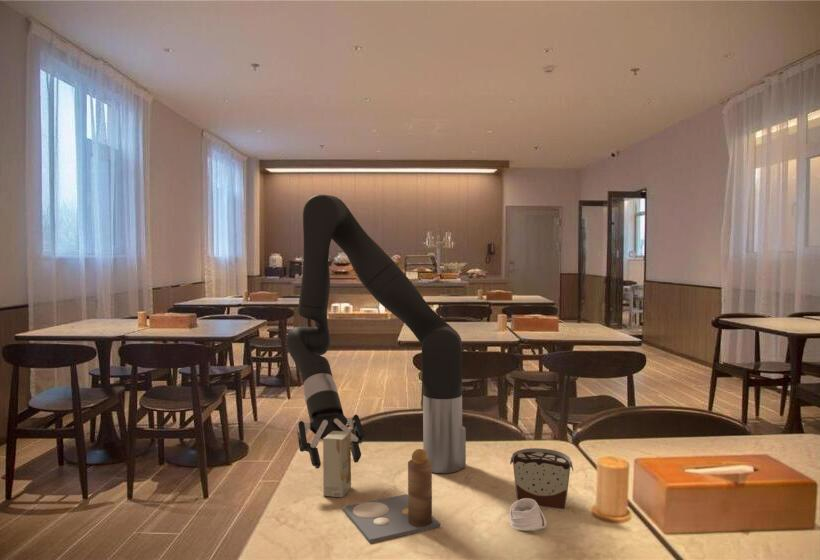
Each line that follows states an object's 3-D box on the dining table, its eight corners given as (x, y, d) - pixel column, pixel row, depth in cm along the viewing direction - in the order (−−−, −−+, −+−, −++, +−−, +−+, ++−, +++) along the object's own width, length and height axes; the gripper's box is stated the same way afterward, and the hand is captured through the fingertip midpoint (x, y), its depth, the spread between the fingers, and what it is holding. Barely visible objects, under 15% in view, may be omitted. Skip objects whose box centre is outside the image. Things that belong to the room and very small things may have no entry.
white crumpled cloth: (552, 538, 104) (555, 512, 103) (516, 538, 102) (520, 512, 102) (535, 516, 111) (538, 491, 111) (502, 515, 110) (505, 491, 110)
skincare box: (342, 498, 119) (342, 439, 119) (322, 496, 120) (322, 438, 120) (352, 486, 125) (351, 430, 125) (332, 485, 126) (332, 429, 126)
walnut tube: (425, 514, 110) (425, 444, 110) (436, 523, 106) (435, 451, 106) (404, 518, 108) (404, 447, 108) (414, 528, 104) (414, 454, 104)
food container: (575, 499, 118) (575, 450, 118) (573, 511, 112) (573, 460, 112) (514, 491, 122) (514, 444, 122) (509, 503, 116) (509, 454, 116)
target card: (406, 496, 120) (406, 493, 120) (440, 526, 106) (440, 523, 106) (342, 509, 114) (342, 506, 114) (369, 543, 100) (369, 539, 100)
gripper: (294, 392, 126) (308, 460, 116) (355, 386, 132) (374, 450, 122) (288, 410, 131) (301, 477, 121) (348, 403, 137) (365, 467, 127)
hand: (338, 463), depth 122 cm, fingers open, 8 cm apart
